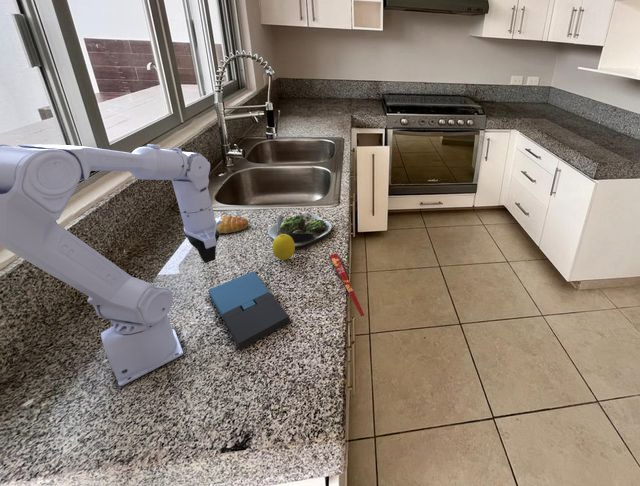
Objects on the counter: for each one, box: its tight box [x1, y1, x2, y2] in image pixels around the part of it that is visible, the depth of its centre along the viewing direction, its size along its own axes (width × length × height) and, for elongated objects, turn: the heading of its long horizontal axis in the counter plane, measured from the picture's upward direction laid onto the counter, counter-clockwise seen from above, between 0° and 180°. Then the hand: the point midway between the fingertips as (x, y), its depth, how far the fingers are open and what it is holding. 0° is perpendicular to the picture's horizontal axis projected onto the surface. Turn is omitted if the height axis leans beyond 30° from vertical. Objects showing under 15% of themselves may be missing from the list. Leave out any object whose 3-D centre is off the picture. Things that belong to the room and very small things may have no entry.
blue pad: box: [208, 270, 271, 319], centre depth 78 cm, size 10×12×2 cm
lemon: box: [271, 234, 296, 261], centre depth 91 cm, size 6×6×8 cm
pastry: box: [216, 215, 249, 235], centre depth 105 cm, size 9×7×4 cm
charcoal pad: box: [221, 292, 291, 351], centre depth 72 cm, size 10×10×2 cm
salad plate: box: [267, 212, 333, 250], centre depth 104 cm, size 19×18×5 cm
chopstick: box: [329, 253, 365, 317], centre depth 84 cm, size 2×24×1 cm, turn 29°
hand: (209, 260), depth 77 cm, fingers closed
